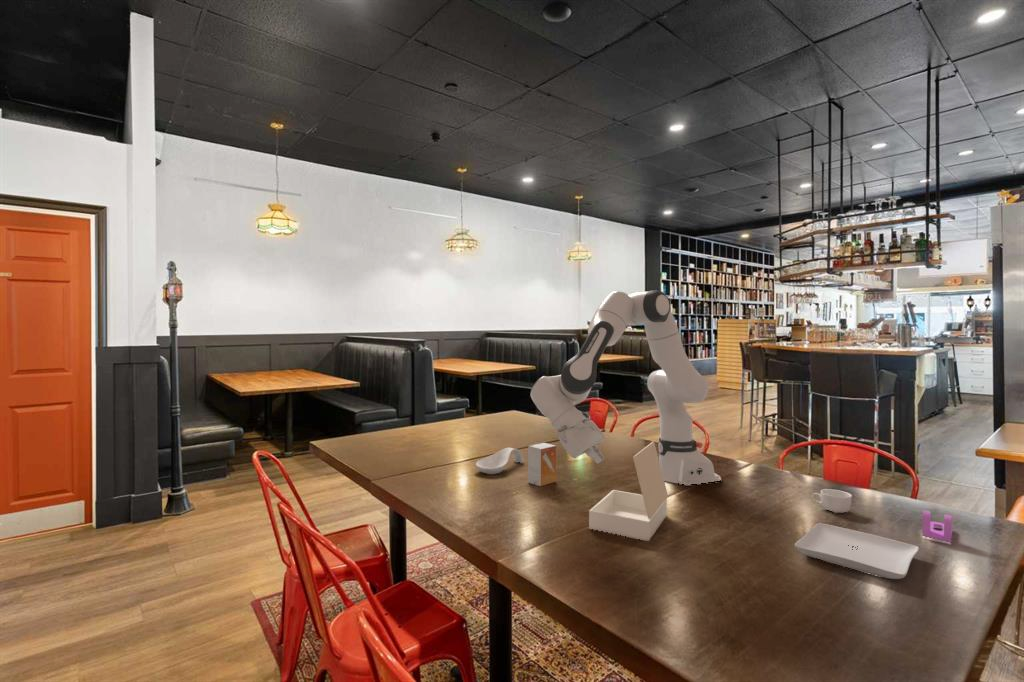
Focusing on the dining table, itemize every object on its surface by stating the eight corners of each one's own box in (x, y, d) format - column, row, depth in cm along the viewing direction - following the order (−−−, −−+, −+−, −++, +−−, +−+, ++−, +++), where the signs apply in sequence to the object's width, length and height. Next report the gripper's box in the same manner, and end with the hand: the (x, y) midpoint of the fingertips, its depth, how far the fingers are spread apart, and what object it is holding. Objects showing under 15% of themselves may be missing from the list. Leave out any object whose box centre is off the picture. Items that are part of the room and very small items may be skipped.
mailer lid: (632, 456, 128) (634, 456, 128) (652, 441, 146) (654, 441, 146) (648, 519, 127) (650, 519, 127) (666, 496, 144) (668, 496, 144)
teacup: (851, 509, 149) (851, 492, 149) (851, 518, 143) (852, 499, 143) (812, 503, 155) (812, 486, 155) (811, 511, 148) (811, 493, 148)
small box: (540, 487, 171) (540, 449, 170) (527, 482, 175) (527, 445, 175) (556, 482, 176) (556, 445, 176) (543, 478, 181) (543, 442, 181)
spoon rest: (493, 479, 180) (493, 459, 180) (469, 473, 187) (469, 454, 187) (531, 465, 199) (531, 447, 199) (507, 460, 206) (507, 443, 206)
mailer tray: (589, 528, 135) (589, 510, 135) (612, 506, 152) (613, 489, 152) (648, 541, 127) (648, 521, 127) (666, 515, 144) (666, 498, 144)
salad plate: (817, 533, 133) (817, 520, 133) (919, 559, 118) (920, 544, 118) (792, 558, 118) (792, 544, 118) (905, 592, 103) (906, 575, 103)
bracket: (951, 545, 125) (951, 518, 125) (922, 539, 129) (922, 512, 129) (952, 530, 135) (953, 504, 134) (925, 524, 138) (926, 499, 138)
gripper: (562, 422, 138) (595, 462, 133) (589, 412, 155) (620, 447, 151) (547, 437, 140) (580, 477, 135) (576, 425, 158) (605, 460, 153)
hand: (601, 461), depth 143 cm, fingers closed
